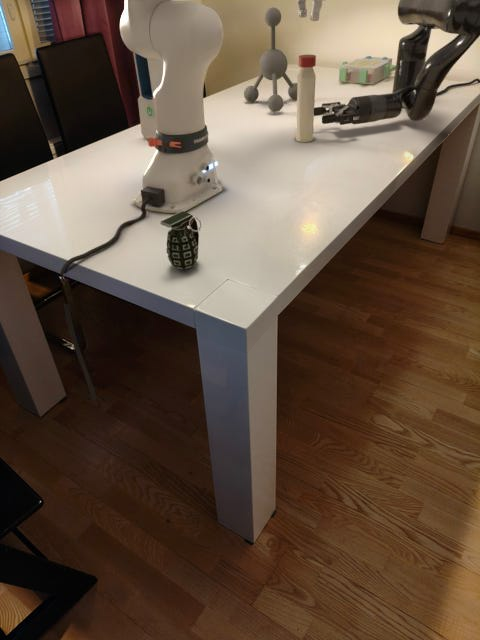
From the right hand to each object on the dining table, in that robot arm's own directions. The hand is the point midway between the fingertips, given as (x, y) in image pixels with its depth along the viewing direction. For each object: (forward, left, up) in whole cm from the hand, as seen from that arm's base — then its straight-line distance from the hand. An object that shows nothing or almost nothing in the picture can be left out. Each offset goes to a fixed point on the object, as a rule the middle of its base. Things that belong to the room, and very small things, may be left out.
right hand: (316, 116), depth 142 cm
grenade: (+71, +32, -6) cm, 78 cm away
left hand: (+3, -2, +24) cm, 25 cm away
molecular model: (-20, -36, -6) cm, 42 cm away
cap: (+3, -2, +16) cm, 16 cm away
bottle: (+3, -2, -6) cm, 7 cm away
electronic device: (+31, -36, -6) cm, 48 cm away
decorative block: (-70, -36, -6) cm, 79 cm away
